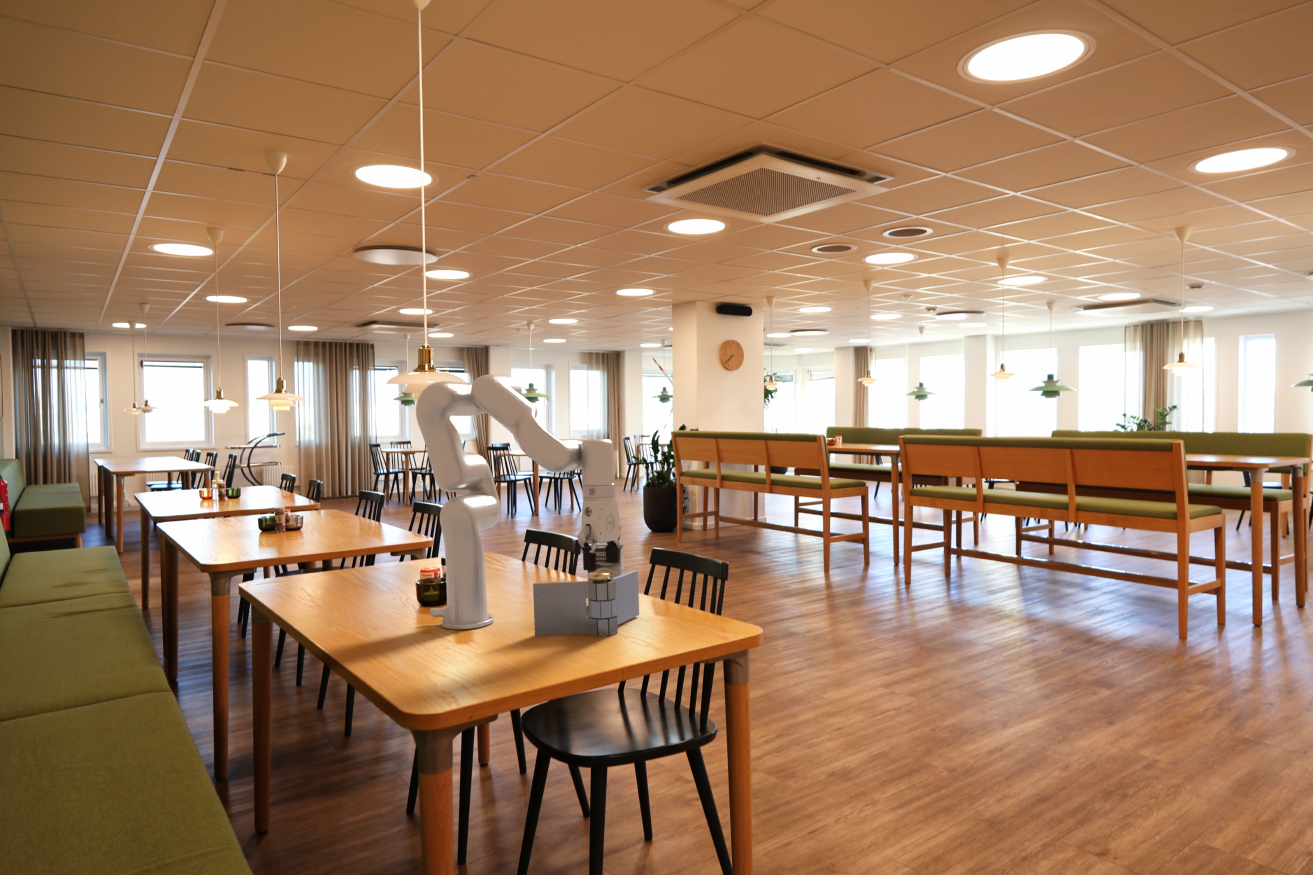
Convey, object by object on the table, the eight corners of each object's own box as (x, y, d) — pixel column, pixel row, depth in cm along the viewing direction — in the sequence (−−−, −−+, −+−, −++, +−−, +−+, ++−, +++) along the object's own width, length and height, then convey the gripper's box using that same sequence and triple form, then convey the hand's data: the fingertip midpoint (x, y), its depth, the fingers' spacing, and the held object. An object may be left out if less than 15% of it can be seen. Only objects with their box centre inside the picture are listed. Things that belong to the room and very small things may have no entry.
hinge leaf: (608, 635, 178) (606, 586, 178) (584, 632, 181) (582, 584, 181) (648, 615, 195) (646, 571, 195) (626, 613, 198) (624, 569, 198)
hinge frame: (533, 639, 179) (531, 586, 179) (536, 631, 185) (534, 580, 185) (617, 635, 180) (615, 582, 179) (617, 628, 186) (616, 577, 186)
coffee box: (587, 609, 206) (585, 548, 206) (591, 604, 212) (589, 544, 212) (622, 609, 205) (620, 547, 205) (625, 603, 211) (623, 543, 211)
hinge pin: (589, 636, 180) (587, 575, 180) (590, 630, 185) (588, 571, 184) (611, 635, 180) (609, 574, 180) (612, 629, 185) (609, 570, 185)
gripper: (592, 496, 173) (595, 574, 173) (631, 489, 188) (634, 560, 188) (563, 495, 176) (566, 572, 176) (604, 489, 191) (607, 559, 192)
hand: (601, 566), depth 182 cm, fingers open, 9 cm apart
